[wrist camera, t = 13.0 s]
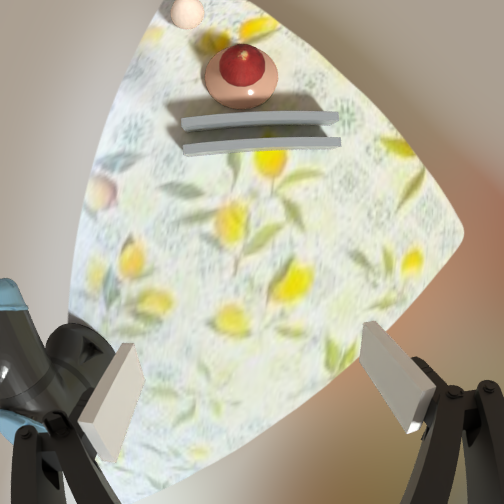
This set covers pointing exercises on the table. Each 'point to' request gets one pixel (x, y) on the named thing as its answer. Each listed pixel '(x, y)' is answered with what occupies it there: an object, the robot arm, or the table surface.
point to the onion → (242, 65)
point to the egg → (187, 13)
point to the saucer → (240, 95)
